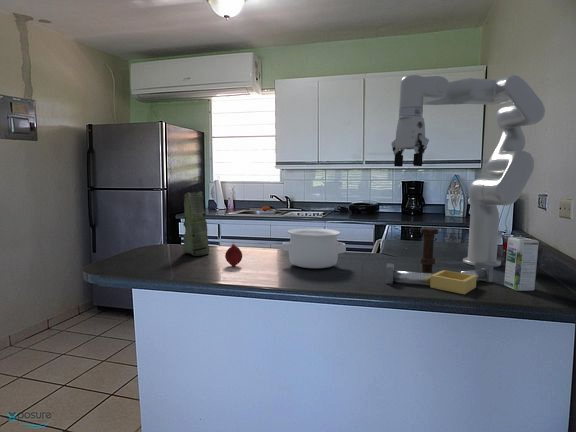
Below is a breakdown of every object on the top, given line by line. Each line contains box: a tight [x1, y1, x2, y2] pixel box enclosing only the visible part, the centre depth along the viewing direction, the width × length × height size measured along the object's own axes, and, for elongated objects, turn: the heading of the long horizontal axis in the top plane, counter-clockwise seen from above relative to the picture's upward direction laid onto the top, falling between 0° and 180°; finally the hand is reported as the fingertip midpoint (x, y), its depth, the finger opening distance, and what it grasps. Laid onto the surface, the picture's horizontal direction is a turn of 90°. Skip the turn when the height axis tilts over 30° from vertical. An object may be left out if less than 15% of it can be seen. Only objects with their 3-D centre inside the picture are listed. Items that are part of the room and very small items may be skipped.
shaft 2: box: [459, 262, 495, 283], centre depth 119 cm, size 12×5×5 cm, turn 118°
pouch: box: [182, 190, 210, 257], centre depth 155 cm, size 11×12×25 cm
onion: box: [224, 242, 243, 267], centre depth 135 cm, size 6×6×8 cm
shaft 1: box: [385, 263, 434, 285], centre depth 117 cm, size 14×5×5 cm, turn 73°
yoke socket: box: [429, 269, 477, 295], centre depth 113 cm, size 10×10×4 cm
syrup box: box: [503, 236, 539, 292], centre depth 113 cm, size 6×6×14 cm
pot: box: [281, 227, 347, 269], centre depth 137 cm, size 22×17×12 cm
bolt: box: [419, 227, 439, 274], centre depth 128 cm, size 6×5×15 cm
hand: (407, 166), depth 133 cm, fingers open, 9 cm apart
